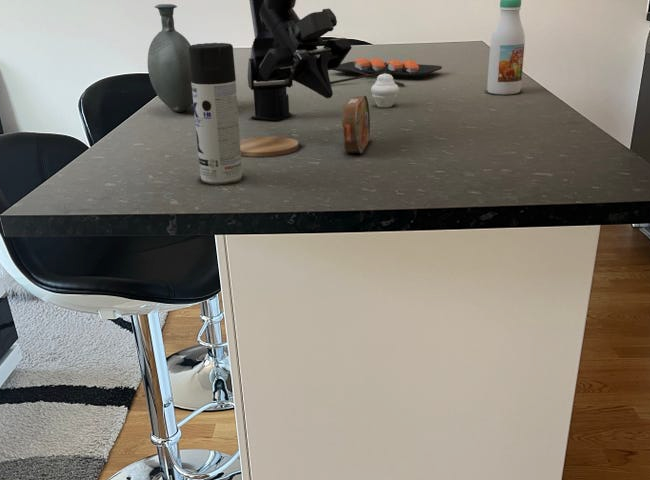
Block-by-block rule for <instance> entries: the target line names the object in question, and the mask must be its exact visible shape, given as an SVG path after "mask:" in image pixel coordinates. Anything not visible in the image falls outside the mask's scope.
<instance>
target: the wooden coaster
mask: <svg viewBox="0 0 650 480" xmlns="http://www.w3.org/2000/svg"><path fill="white" fill-rule="evenodd" d="M240 149H241V156H244V157H256V158H265V157H266V158H267V157H277V156H283V155H287V154H290V153H294V152H296V151H297V150H298V149H299V141H298V140H296V139H295V138H291V137H285V136H257V137H249V138H244V139H240Z"/></svg>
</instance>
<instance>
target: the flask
mask: <svg viewBox="0 0 650 480" xmlns="http://www.w3.org/2000/svg"><path fill="white" fill-rule="evenodd" d="M154 8H155V9H157V10H158V13H159V16H160V20H161V21H160V22H161V30H160V31H159V32H158V33H157V34H156V35H155V36H154V37H153V39H152V40H151V41H150V44H149V48H148V53H147V72H148V77H149V81H150V84H151V86H152V88H153V91H154V92H155V94H156V95H157V97H158V98H159V99H160V101H161V102H162V103H163V104H164V105H165V106H166V107H168V108H169V109H170V110H173V111H175V112H177V113H178V112H179V113H181V112H186V111H188V110H189V109H190V108H191V107H192V106H193V105H194V104H193V94H192V83H191V73H190V60H189V46H191V45H192V44H191V43H190V42H189V40H188V39H187V38H186V37H185V36H184V35H183V34H181V33H180V32H178V30H176V29H175V20H174V10H175V8H178V6H177V5H176V4H171V3H162V4H161V3H159V4H156V5H154Z"/></svg>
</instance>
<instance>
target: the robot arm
mask: <svg viewBox="0 0 650 480" xmlns="http://www.w3.org/2000/svg"><path fill="white" fill-rule="evenodd" d="M296 2H297V0H249V7H250V15H251V21H252V27H253V34H254V39H253V41H252V45H251V49H250V57H249V58H248V62H247V63H248V64H247V86H248V88H249V89H250V91H252V92H253V105H254V115H251V116H250V119H251V120H263V121H273V122H274V121H280V120H283V119H285V118H287V117H290V116H292V112H290V102H289V100H290V97H289V94H288V93H287V88H292V87H293V81H294V82H296V83H298V84H300V85H303V86H304V87H305V88H308V89H310V90H311V91H313V92H315V93H317V94H318V95H319V96H322V97H323V98H325V99H331V98H332V97H333V95H334V93H333V88H332V84H331V83H330V82H331V79H330V75H329V71H334V70H333V69H336V68H337V67H339V65H340V64H342V62H343V61H344V60H345V58H346V57H347V55H348V54H349V53H350V51H351V50H352V45H351V43H350V42H349V40H348V38H346V37H338V38H332V39H328V40H327V41H326V42H325V44H324V46H323V47H322V48H318V46H319V45H321V43H322V42H323V38H322V37H323V36H325V35H326V34H327V33H329V32H332V31H334V30H335V27H336V26H337V23H338V20H337V16H336V15H335V13H334V12H333V11H332V10H331V8H323V9H322V11H314V12H311V13H309V14H307V15H305V16H304V17H302V18H301V19H300V17H299V16H298V14H297V12H296V11H295V10H294V8H295V6H296V4H297V3H296Z"/></svg>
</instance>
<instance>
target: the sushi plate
mask: <svg viewBox="0 0 650 480" xmlns="http://www.w3.org/2000/svg"><path fill="white" fill-rule="evenodd" d="M442 69H443V66H442V65H435V64H419V63H418V62H416V61H415V60H414V59H413V60H412V59H405V60H402V62H401V61H400V60H399V59H391V60H389V61H387V62H384V61H383V60H382V59H381V58H378V57H377V58H376V57H373V58H371V59H367V58H365V57H360V58H356V59H354V61H347V62H344V63H341V64H340V65H339V67H337V68H336V69H333V70H332V71H336V72H341V73H344V75H347V76H353V77H348V78H343V79H337V80H332V81H331V80H330V83H331V85H335V84H341V83H344V82H349V81H355V80H359V79H364V78H369V77H371V78H374V79H377V77H378V76H379V75H381V74H384V73H386V74H390V75H391V76H392V77H393V79H406V80H407V79H409V80H412V79H413V80H415V79H416V80H417V79H421V78H425V77H427V76H429V74H431V73H434V72H437V71H440V70H442ZM354 76H355V77H354ZM393 81H394V82H395V84H397V86H398V87H399V86H400V87H405V84H404V83H403V82H400V81H395V80H393Z"/></svg>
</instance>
